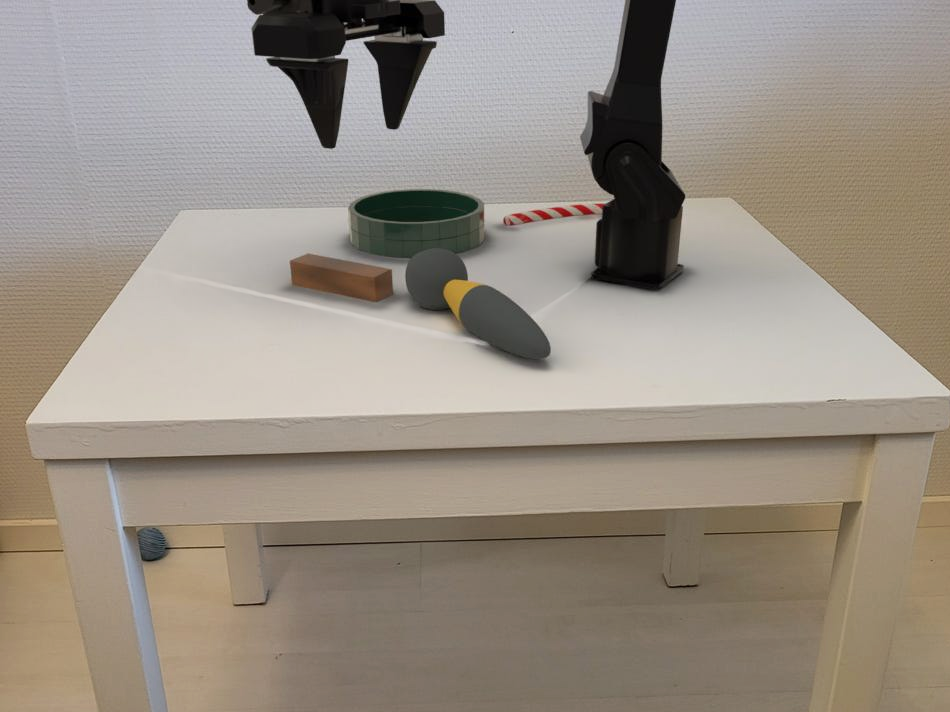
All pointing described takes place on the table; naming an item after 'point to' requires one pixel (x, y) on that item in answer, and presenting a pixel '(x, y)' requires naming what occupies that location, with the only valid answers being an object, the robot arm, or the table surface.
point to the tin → (416, 222)
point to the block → (342, 277)
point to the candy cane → (552, 213)
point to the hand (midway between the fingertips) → (362, 138)
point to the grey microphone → (473, 303)
